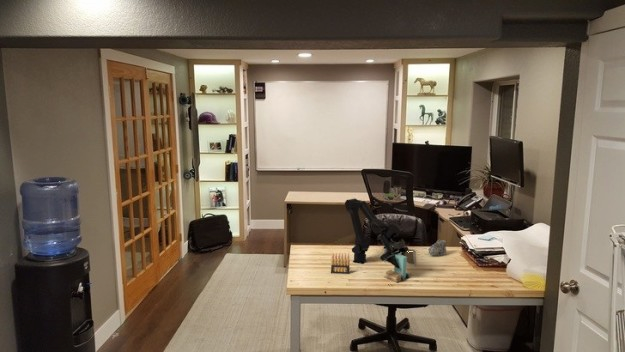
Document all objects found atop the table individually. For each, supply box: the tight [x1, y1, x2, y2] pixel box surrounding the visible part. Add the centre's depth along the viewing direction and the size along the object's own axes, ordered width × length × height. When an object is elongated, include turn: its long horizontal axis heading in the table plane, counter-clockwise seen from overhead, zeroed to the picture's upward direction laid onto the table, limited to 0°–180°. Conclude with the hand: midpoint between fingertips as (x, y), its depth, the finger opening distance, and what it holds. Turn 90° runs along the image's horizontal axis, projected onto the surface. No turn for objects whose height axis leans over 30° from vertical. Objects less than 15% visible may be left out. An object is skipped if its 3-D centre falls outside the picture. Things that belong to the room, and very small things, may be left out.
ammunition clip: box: [330, 252, 351, 275], centre depth 246 cm, size 11×2×12 cm, turn 85°
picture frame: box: [383, 248, 417, 266], centre depth 274 cm, size 19×2×30 cm
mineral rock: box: [428, 239, 447, 257], centre depth 278 cm, size 13×11×10 cm
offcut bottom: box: [384, 275, 401, 283], centre depth 237 cm, size 8×4×1 cm, turn 40°
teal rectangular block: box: [393, 254, 408, 278], centre depth 240 cm, size 6×3×12 cm, turn 40°
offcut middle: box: [384, 272, 401, 280], centre depth 237 cm, size 8×4×1 cm, turn 40°
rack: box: [383, 272, 411, 284], centre depth 239 cm, size 10×11×3 cm
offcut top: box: [385, 269, 402, 278], centre depth 236 cm, size 8×4×1 cm, turn 40°
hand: (402, 266), depth 239 cm, fingers open, 6 cm apart
